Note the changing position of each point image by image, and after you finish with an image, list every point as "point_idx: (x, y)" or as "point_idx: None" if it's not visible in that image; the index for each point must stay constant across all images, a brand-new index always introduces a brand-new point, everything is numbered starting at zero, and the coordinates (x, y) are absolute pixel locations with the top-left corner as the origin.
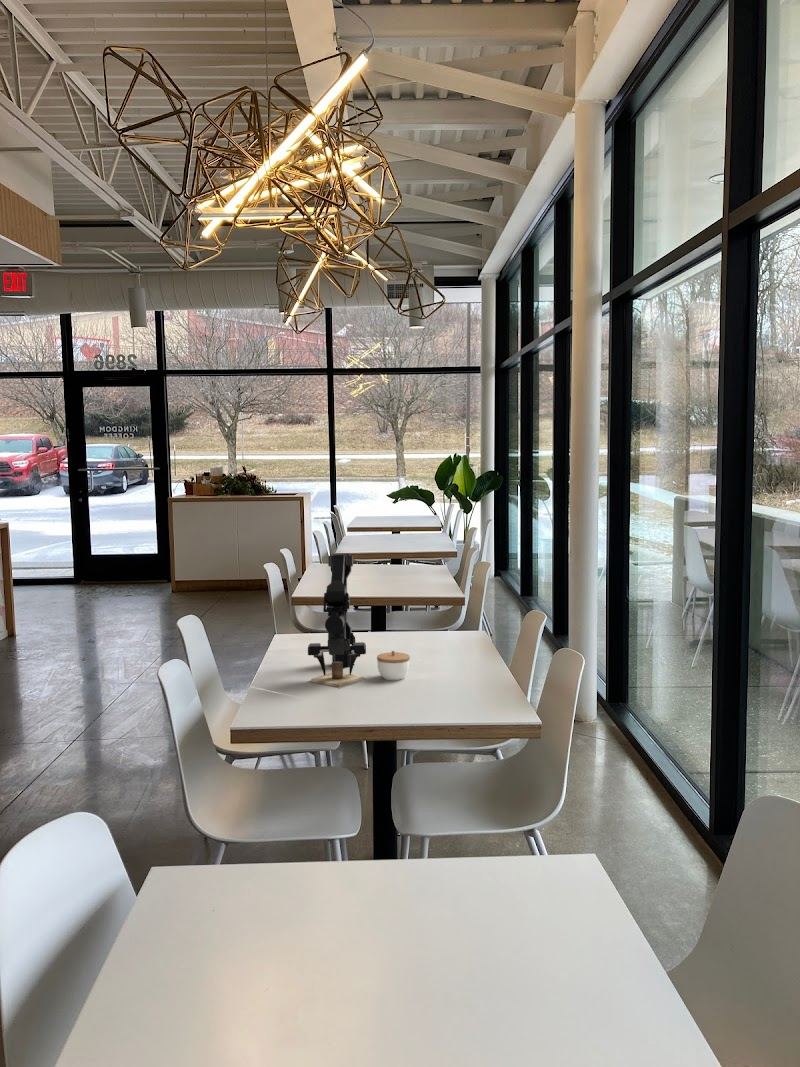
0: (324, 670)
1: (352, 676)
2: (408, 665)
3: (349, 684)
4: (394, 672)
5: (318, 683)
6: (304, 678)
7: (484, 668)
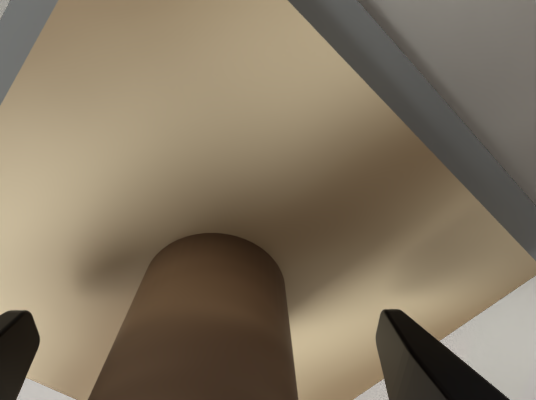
0: (431, 359)
1: None
2: None
3: (14, 54)
4: None
5: (465, 158)
6: (527, 374)
7: None
